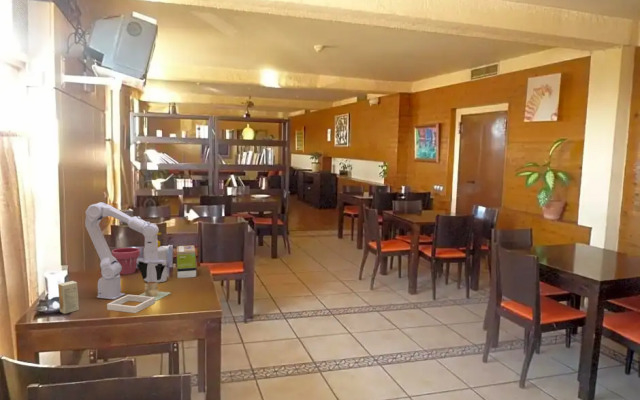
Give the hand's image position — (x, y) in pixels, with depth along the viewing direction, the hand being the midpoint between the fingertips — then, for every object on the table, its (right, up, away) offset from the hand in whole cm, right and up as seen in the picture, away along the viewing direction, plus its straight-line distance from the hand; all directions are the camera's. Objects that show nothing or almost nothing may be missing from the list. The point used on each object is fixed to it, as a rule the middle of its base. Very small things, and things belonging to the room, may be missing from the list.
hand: (151, 278), depth 219 cm
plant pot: (-29, -4, +41) cm, 50 cm away
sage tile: (0, -8, +1) cm, 8 cm away
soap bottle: (-7, -6, +25) cm, 27 cm away
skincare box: (-27, -10, -21) cm, 36 cm away
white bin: (-4, -10, -14) cm, 17 cm away
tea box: (+5, -4, +40) cm, 41 cm away
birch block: (0, -8, 0) cm, 8 cm away
